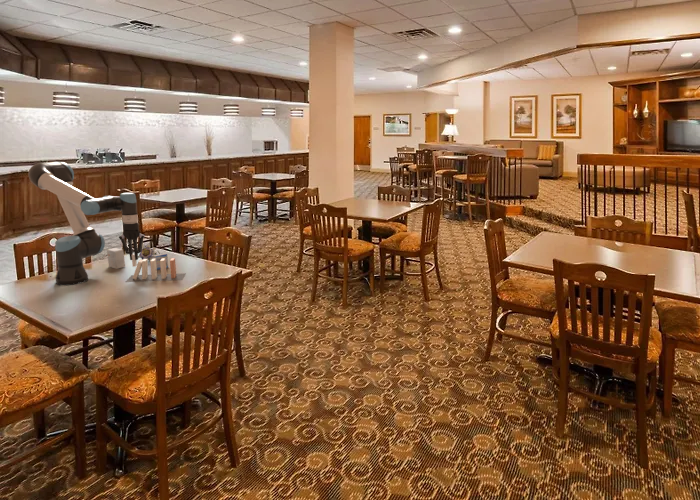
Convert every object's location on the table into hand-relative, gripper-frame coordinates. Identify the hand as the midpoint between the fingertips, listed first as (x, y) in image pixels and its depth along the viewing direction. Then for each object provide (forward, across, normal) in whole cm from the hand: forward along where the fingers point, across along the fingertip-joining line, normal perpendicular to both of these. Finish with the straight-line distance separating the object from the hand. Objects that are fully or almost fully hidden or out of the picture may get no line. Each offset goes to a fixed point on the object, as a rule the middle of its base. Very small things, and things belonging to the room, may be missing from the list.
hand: (134, 265), depth 271 cm
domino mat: (+8, +10, 0) cm, 13 cm away
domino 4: (+7, +14, 0) cm, 16 cm away
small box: (+8, -18, +28) cm, 34 cm away
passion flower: (+8, -2, +39) cm, 40 cm away
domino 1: (+7, 0, 0) cm, 7 cm away
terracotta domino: (+7, +20, 0) cm, 21 cm away
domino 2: (+7, +4, 0) cm, 8 cm away
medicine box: (+8, +8, +20) cm, 23 cm away
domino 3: (+7, +10, 0) cm, 12 cm away
